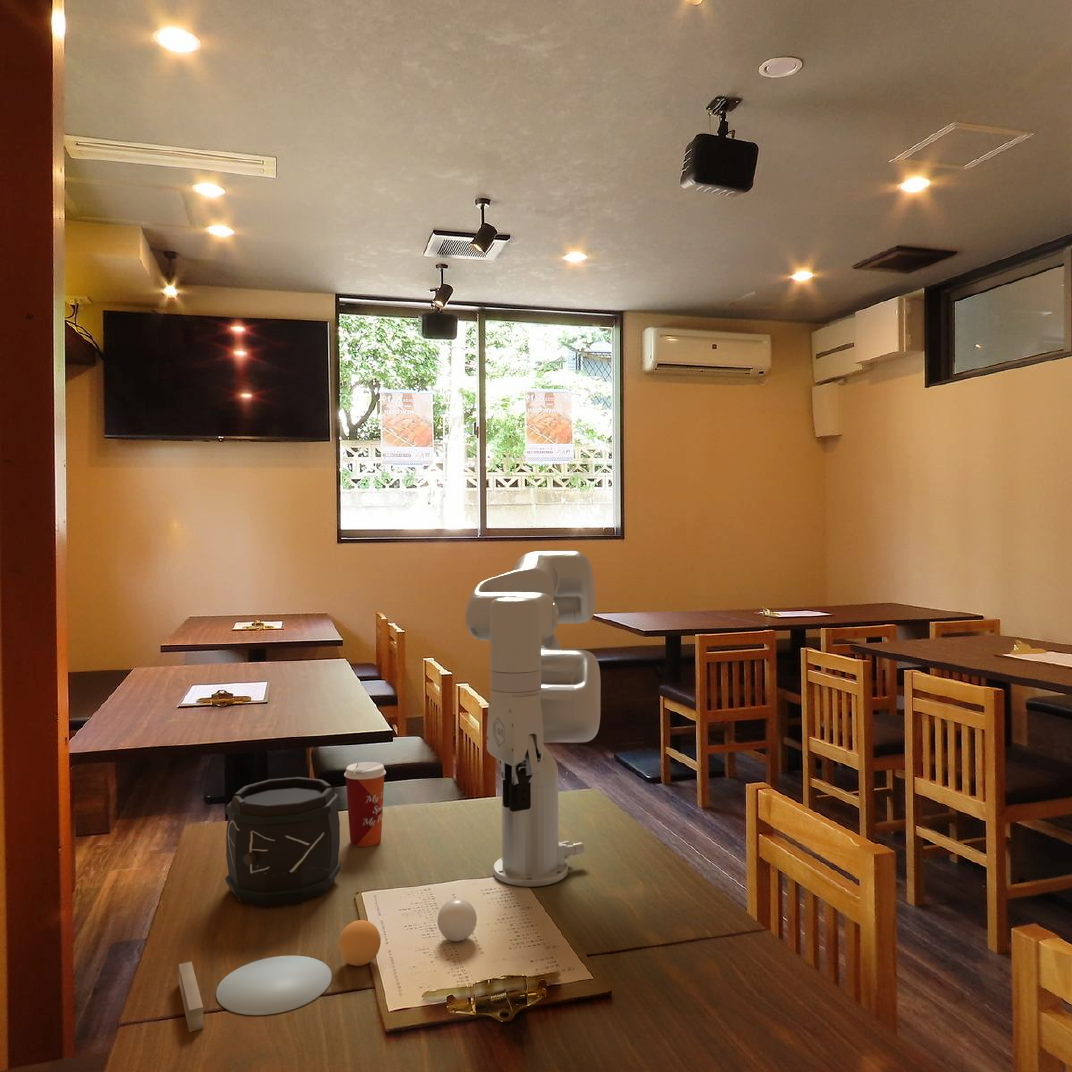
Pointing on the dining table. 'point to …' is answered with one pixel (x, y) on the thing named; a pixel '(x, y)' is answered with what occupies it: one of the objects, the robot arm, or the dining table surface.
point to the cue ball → (457, 919)
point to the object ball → (359, 942)
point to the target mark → (273, 985)
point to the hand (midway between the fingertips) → (516, 807)
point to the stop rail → (190, 997)
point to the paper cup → (365, 802)
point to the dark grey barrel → (282, 841)
